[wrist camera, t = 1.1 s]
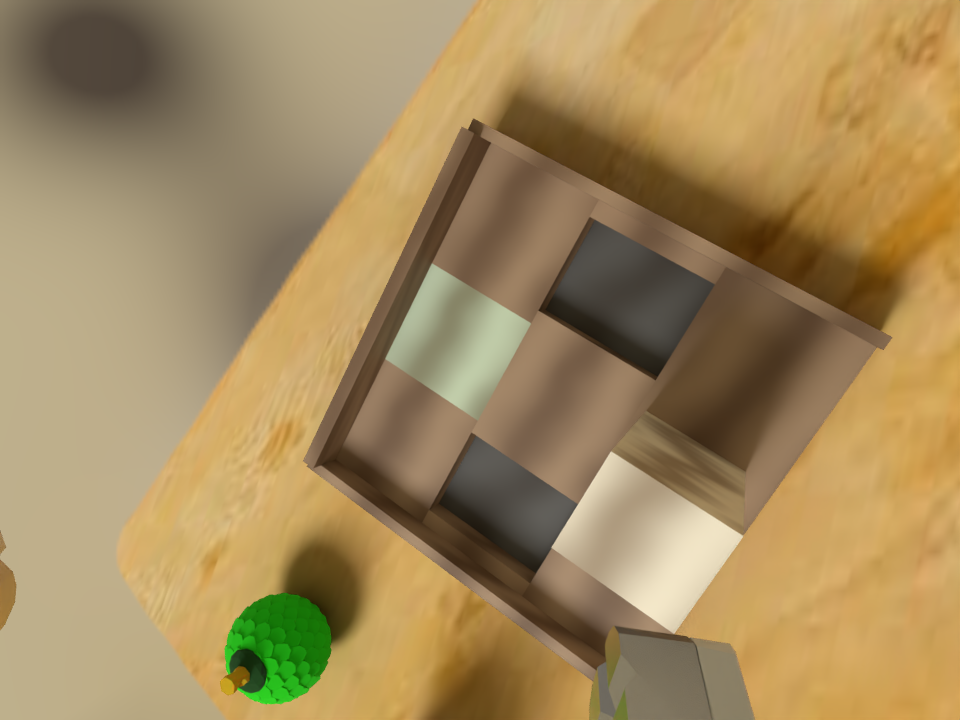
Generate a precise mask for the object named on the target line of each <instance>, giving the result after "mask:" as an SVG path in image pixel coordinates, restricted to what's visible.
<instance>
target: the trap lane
mask: <svg viewBox="0 0 960 720" xmlns="http://www.w3.org/2000/svg"><path fill="white" fill-rule="evenodd" d="M891 339H892V337H891V336H889V335H887V334H885V333H883V332H881V331H879V330H877V329H876V328H874V327H872V326H870V325H868V324H866V323H864V322H862V321H860V320H858V319H856V318H855V317H853V316H851V315H849V314H847V313H845V312H843V311H841V310H839V309H837V308H835V307H833V306H832V305H830V304H828V303H826V302H824V301H822V300H820V299H818V298H816V297H814V296H812V295H810V294H809V293H807V292H805V291H803V290H801V289H799V288H797V287H795V286H793V285H791V284H789V283H787V282H786V281H784V280H782V279H780V278H778V277H776V276H774V275H772V274H770V273H768V272H766V271H765V270H763V269H761V268H759V267H757V266H755V265H753V264H751V263H749V262H747V261H745V260H743V259H742V258H740V257H738V256H736V255H734V254H732V253H730V252H728V251H726V250H724V249H722V248H720V247H719V246H717V245H715V244H713V243H711V242H709V241H707V240H705V239H703V238H701V237H699V236H697V235H696V234H694V233H692V232H690V231H688V230H686V229H684V228H682V227H680V226H678V225H676V224H674V223H673V222H671V221H669V220H667V219H665V218H663V217H661V216H659V215H657V214H655V213H653V212H652V211H650V210H648V209H646V208H644V207H642V206H640V205H638V204H636V203H634V202H632V201H630V200H629V199H627V198H625V197H623V196H621V195H619V194H617V193H615V192H613V191H611V190H609V189H607V188H606V187H604V186H602V185H600V184H598V183H596V182H594V181H592V180H590V179H588V178H586V177H584V176H583V175H581V174H579V173H577V172H575V171H573V170H571V169H569V168H567V167H565V166H563V165H561V164H560V163H558V162H556V161H554V160H552V159H550V158H548V157H546V156H544V155H542V154H540V153H539V152H537V151H535V150H533V149H531V148H529V147H527V146H525V145H523V144H521V143H519V142H517V141H516V140H514V139H512V138H510V137H508V136H506V135H504V134H502V133H500V132H498V131H496V130H494V129H493V128H491V127H489V126H487V125H485V124H483V123H481V122H479V121H477V120H475V119H473V120H472V122H471V124H470V127H469V129H468V130H467V129H465V128H463V127H461V129H460V132H459V134H458V136H457V138H456V140H455V142H454V144H453V146H452V148H451V151H450V153H449V155H448V157H447V159H446V161H445V163H444V165H443V167H442V170H441V172H440V174H439V176H438V178H437V180H436V182H435V184H434V186H433V188H432V191H431V193H430V195H429V197H428V199H427V201H426V203H425V205H424V207H423V210H422V212H421V214H420V216H419V218H418V220H417V222H416V224H415V226H414V229H413V231H412V233H411V235H410V237H409V239H408V241H407V243H406V245H405V247H404V250H403V252H402V254H401V256H400V258H399V260H398V262H397V264H396V266H395V269H394V271H393V273H392V275H391V277H390V279H389V281H388V283H387V285H386V288H385V290H384V292H383V294H382V296H381V298H380V300H379V302H378V304H377V306H376V309H375V311H374V313H373V315H372V317H371V319H370V321H369V323H368V325H367V328H366V330H365V332H364V334H363V336H362V338H361V340H360V342H359V344H358V347H357V349H356V351H355V353H354V355H353V357H352V359H351V361H350V363H349V365H348V368H347V370H346V372H345V374H344V376H343V378H342V380H341V382H340V384H339V387H338V389H337V391H336V393H335V395H334V397H333V399H332V401H331V403H330V405H329V408H328V410H327V412H326V414H325V416H324V418H323V420H322V422H321V424H320V427H319V429H318V431H317V433H316V435H315V437H314V439H313V441H312V443H311V446H310V448H309V450H308V452H307V454H306V456H305V458H304V460H303V461H304V462H305V463H306V464H308V466H307V467H308V468H310V469H311V470H312V471H314V472H315V473H316V474H318V475H319V476H320V477H322V478H323V479H324V480H326V481H327V482H328V483H330V484H331V485H332V486H334V487H335V488H336V489H338V490H339V491H340V492H342V493H343V494H344V495H346V496H347V497H348V498H350V499H351V500H352V501H354V502H355V503H356V504H358V505H359V506H360V507H362V508H363V509H364V510H366V511H367V512H368V513H370V514H371V515H372V516H374V517H375V518H376V519H378V520H379V521H380V522H382V523H383V524H384V525H386V526H387V527H388V528H390V529H391V530H392V531H394V532H395V533H396V534H397V535H399V536H400V537H401V538H403V539H404V540H405V541H407V542H408V543H409V544H411V545H412V546H413V547H415V548H416V549H417V550H419V551H420V552H421V553H423V554H424V555H425V556H427V557H428V558H429V559H431V560H432V561H433V562H435V563H436V564H437V565H439V566H440V567H441V568H443V569H444V570H445V571H447V572H448V573H449V574H451V575H452V576H453V577H455V578H456V579H457V580H459V581H460V582H461V583H463V584H464V585H465V586H467V587H468V588H469V589H471V590H472V591H473V592H475V593H476V594H477V595H479V596H480V597H481V598H483V599H484V600H485V601H487V602H488V603H489V604H491V605H492V606H493V607H495V608H496V609H497V610H499V611H500V612H501V613H503V614H504V615H505V616H507V617H508V618H509V619H511V620H512V621H513V622H515V623H516V624H517V625H519V626H520V627H521V628H523V629H524V630H525V631H527V632H528V633H529V634H531V635H532V636H533V637H535V638H536V639H537V640H539V641H540V642H541V643H543V644H544V645H545V646H546V647H548V648H549V649H550V650H552V651H553V652H554V653H556V654H557V655H558V656H560V657H561V658H562V659H564V660H565V661H566V662H568V663H569V664H570V665H572V666H573V667H574V668H576V669H577V670H578V671H580V672H581V673H582V674H584V675H585V676H586V677H588V678H589V679H590V680H592V681H594V677H595V674H596V670H597V667H598V666H600V665H601V664H603V663H605V662H606V653H605V642H606V640H607V637H608V634H609V631H610V630H611V629H612V627H613V626H620V627H627V628H633V629H640V630H647V631H653V632H660V633H667V634H673V633H672V632H670V631H669V630H668V629H666V628H665V627H663V626H662V625H660V624H659V623H658V622H656V621H655V620H653V619H652V618H651V617H649V616H648V615H646V614H645V613H643V612H642V611H641V610H639V609H638V608H636V607H635V606H633V605H632V604H631V603H629V602H628V601H626V600H625V599H624V598H622V597H621V596H619V595H618V594H616V593H615V592H614V591H612V590H611V589H609V588H608V587H606V586H605V585H604V584H602V583H601V582H599V581H598V580H597V579H595V578H594V577H592V576H591V575H589V574H588V573H587V572H585V571H584V570H582V569H581V568H579V567H578V566H577V565H575V564H574V563H572V562H571V561H570V560H568V559H567V558H565V557H564V556H562V555H561V554H560V553H558V552H557V551H555V550H554V549H552V548H551V547H552V546H553V544H554V542H555V541H556V539H557V538H558V536H559V534H560V533H561V531H562V530H563V528H564V526H565V525H566V523H567V521H568V520H569V518H570V517H571V515H572V513H573V512H574V510H575V509H576V507H577V505H578V504H579V502H580V501H581V499H582V497H583V496H584V494H585V492H586V491H587V489H588V488H589V486H590V484H591V483H592V481H593V480H594V478H595V476H596V475H597V473H598V471H599V470H600V468H601V467H602V465H603V463H604V462H605V460H606V459H607V457H608V455H609V454H610V452H611V451H612V450H613V448H614V447H615V446H616V445H617V444H618V443H619V442H620V440H621V439H622V438H623V437H624V436H625V435H626V433H627V432H628V431H629V430H630V429H631V428H632V427H633V425H634V424H635V423H636V422H637V421H638V420H639V419H640V417H641V416H642V415H643V414H644V413H645V412H646V411H647V412H649V413H651V414H652V415H654V416H655V417H657V418H659V419H660V420H662V421H664V422H665V423H667V424H668V425H670V426H672V427H673V428H675V429H677V430H678V431H680V432H682V433H683V434H685V435H686V436H688V437H690V438H691V439H693V440H695V441H696V442H698V443H700V444H701V445H703V446H704V447H706V448H708V449H709V450H711V451H713V452H714V453H716V454H717V455H719V456H721V457H722V458H724V459H726V460H727V461H729V462H731V463H732V464H734V465H735V466H737V467H739V468H740V469H742V470H744V471H745V472H746V473H745V504H744V534H745V532H746V531H747V530H748V528H749V527H750V525H751V524H752V523H753V521H754V520H755V518H756V517H757V516H758V514H759V513H760V511H761V510H762V508H763V507H764V506H765V504H766V503H767V501H768V500H769V499H770V497H771V496H772V494H773V493H774V492H775V490H776V489H777V487H778V486H779V485H780V483H781V482H782V480H783V479H784V478H785V476H786V475H787V473H788V472H789V470H790V469H791V468H792V466H793V465H794V463H795V462H796V461H797V459H798V458H799V456H800V455H801V454H802V452H803V451H804V449H805V448H806V447H807V445H808V444H809V442H810V441H811V440H812V438H813V437H814V435H815V434H816V433H817V431H818V430H819V428H820V427H821V425H822V424H823V423H824V421H825V420H826V418H827V417H828V416H829V414H830V413H831V411H832V410H833V409H834V407H835V406H836V404H837V403H838V402H839V400H840V399H841V397H842V396H843V395H844V393H845V392H846V390H847V389H848V388H849V386H850V385H851V383H852V382H853V380H854V379H855V378H856V376H857V375H858V373H859V372H860V371H861V369H862V368H863V366H864V365H865V364H866V362H867V361H868V359H869V358H870V357H871V355H872V354H873V352H874V351H875V350H876V348H877V347H878V348H880V349H882V350H884V348H885V347H886V346H887V344H888V343H889V341H890V340H891Z"/></svg>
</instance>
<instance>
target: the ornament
mask: <svg viewBox="0 0 960 720" xmlns="http://www.w3.org/2000/svg"><path fill="white" fill-rule="evenodd" d="M330 633H331V631H330V627H329V626H328V624H327V620H326V617H325V616H324V615H323V614H322V613H320V609H319V608H318V607H317V605H315V604H312V603H311V602H310V600H308V599H306V598H303V597H300V596H298V595H292V594H291V595H289V594H288V593H281V594H277V595H268V596H266V597H264V598H262V599H259V600H258V601H256V602H254V603H253V604H252V605H251V606H250V607H247V608H246V609H245V610H244V611H243V613H242V614H241V615H240V617H239V618H237V619H236V620H235V621H234V623H233V626H232V629H231V630H230V632H229V634H228V638H227V645H226V646H225V660H226V670H227V672H228V674H229V675H227V676H225V677H224V678H223V679H222V680H221V681H220V686H221V691H222V692H224V693H225V694H226V695H231V694H234V693H235V692H236V690H239V691H240V692H242V693H244V694H245V695H246V696H247V697H249V698H250V699H252V700H254V701H258V702H260V703H263V704H267V703H268V704H282V703H284V702H289V701H292V700H293V699H295V698H298V696H301V695H303V694H305V693H307V692H308V690H309V688H311V687H312V686H313V685H314V684H315V683H316V682H317V681H319V680H320V679H321V678H320V675H321V674H322V672H323V671H324V670H325V668H326V666H327V664H328V661H327V660H328V659H329V657H330V654H331V648H330V646H331V634H330Z"/></svg>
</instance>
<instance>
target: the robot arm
mask: <svg viewBox="0 0 960 720" xmlns="http://www.w3.org/2000/svg"><path fill="white" fill-rule="evenodd" d="M5 548H6V546H5V543H4V540H3V537H2V535H1V532H0V554H1V553H2V551H4V549H5ZM15 595H16V582H15V578H14V574H13V571H11V570H10V569H9V568H8V567H7V566H6V565H5V564H4V563H3V562H2V561H1V560H0V630H1V629H2V627H3V626H4V625H5V623H6V621H7V619H8V616H9V614H10V612H11V610H12V607H13V605H14V603H15ZM605 653H606V662H605V663H603V664H601V665H600V666H598V667H597V670H596V674H595V677H594V681H593V684H592V691H591V699H590V708H589V720H755V717H754V714H753V710H752V707H751V703H750V700H749V696H748V693H747V690H746V686H745V683H744V679H743V676H742V672H741V669H740V666H739V662H738V659H737V655H736V652H735V650H734V649H733V648H732V646H731V645H730V644H728V643H721V642H715V641H709V640H703V639H696V638H688V637H687V636H680V635H674V634H667V633H660V632H653V631H647V630H640V629H633V628H627V627H620V626H613V627H612V629H611V630H610V631H609V634H608V637H607V640H606V642H605Z"/></svg>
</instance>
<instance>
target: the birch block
mask: <svg viewBox="0 0 960 720" xmlns="http://www.w3.org/2000/svg"><path fill="white" fill-rule="evenodd" d="M745 473H746V472H745V471H744V470H742V469H740V468H739V467H737V466H735V465H734V464H732V463H731V462H729V461H727V460H726V459H724V458H722V457H721V456H719V455H717V454H716V453H714V452H713V451H711V450H709V449H708V448H706V447H704V446H703V445H701V444H700V443H698V442H696V441H695V440H693V439H691V438H690V437H688V436H686V435H685V434H683V433H682V432H680V431H678V430H677V429H675V428H673V427H672V426H670V425H668V424H667V423H665V422H664V421H662V420H660V419H659V418H657V417H655V416H654V415H652V414H651V413H649V412H647V411H646V412H645V413H644V414H643V415H642V416H641V417H640V419H639V420H638V421H637V422H636V423H635V424H634V425H633V427H632V428H631V429H630V430H629V431H628V432H627V433H626V435H625V436H624V437H623V438H622V439H621V440H620V442H619V443H618V444H617V445H616V446H615V447H614V448H613V450H612V451H611V452H610V454H609V455H608V457H607V459H606V460H605V462H604V463H603V465H602V467H601V468H600V470H599V471H598V473H597V475H596V476H595V478H594V480H593V481H592V483H591V484H590V486H589V488H588V489H587V491H586V492H585V494H584V496H583V497H582V499H581V501H580V502H579V504H578V505H577V507H576V509H575V510H574V512H573V513H572V515H571V517H570V518H569V520H568V521H567V523H566V525H565V526H564V528H563V530H562V531H561V533H560V534H559V536H558V538H557V539H556V541H555V542H554V544H553V546H552V547H551V548H552V549H554V550H555V551H557V552H558V553H560V554H561V555H562V556H564V557H565V558H567V559H568V560H570V561H571V562H572V563H574V564H575V565H577V566H578V567H579V568H581V569H582V570H584V571H585V572H587V573H588V574H589V575H591V576H592V577H594V578H595V579H597V580H598V581H599V582H601V583H602V584H604V585H605V586H606V587H608V588H609V589H611V590H612V591H614V592H615V593H616V594H618V595H619V596H621V597H622V598H624V599H625V600H626V601H628V602H629V603H631V604H632V605H633V606H635V607H636V608H638V609H639V610H641V611H642V612H643V613H645V614H646V615H648V616H649V617H651V618H652V619H653V620H655V621H656V622H658V623H659V624H660V625H662V626H663V627H665V628H666V629H668V630H669V631H670V632H672V633H673V634H674V633H675V632H676V630H677V629H678V627H679V626H680V625H681V623H682V622H683V620H684V619H685V618H686V616H687V615H688V613H689V612H690V611H691V609H692V608H693V606H694V605H695V604H696V602H697V601H698V599H699V598H700V597H701V595H702V594H703V592H704V591H705V590H706V588H707V587H708V585H709V584H710V582H711V581H712V580H713V578H714V577H715V575H716V574H717V573H718V571H719V570H720V568H721V567H722V566H723V564H724V563H725V561H726V560H727V559H728V557H729V556H730V554H731V553H732V552H733V550H734V549H735V547H736V546H737V545H738V543H739V542H740V540H741V539H742V537H743V535H744V504H745Z"/></svg>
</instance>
